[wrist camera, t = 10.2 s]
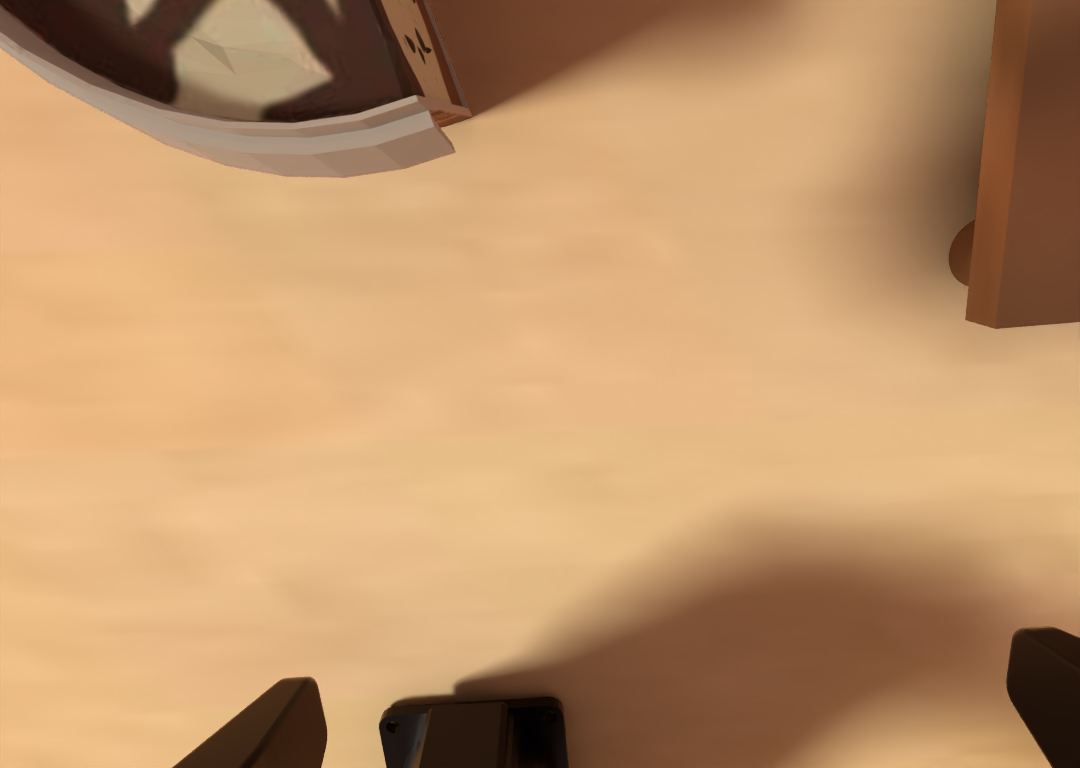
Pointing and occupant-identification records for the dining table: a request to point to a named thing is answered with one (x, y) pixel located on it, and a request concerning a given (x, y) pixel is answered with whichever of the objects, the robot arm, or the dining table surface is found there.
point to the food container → (254, 77)
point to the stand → (1027, 174)
